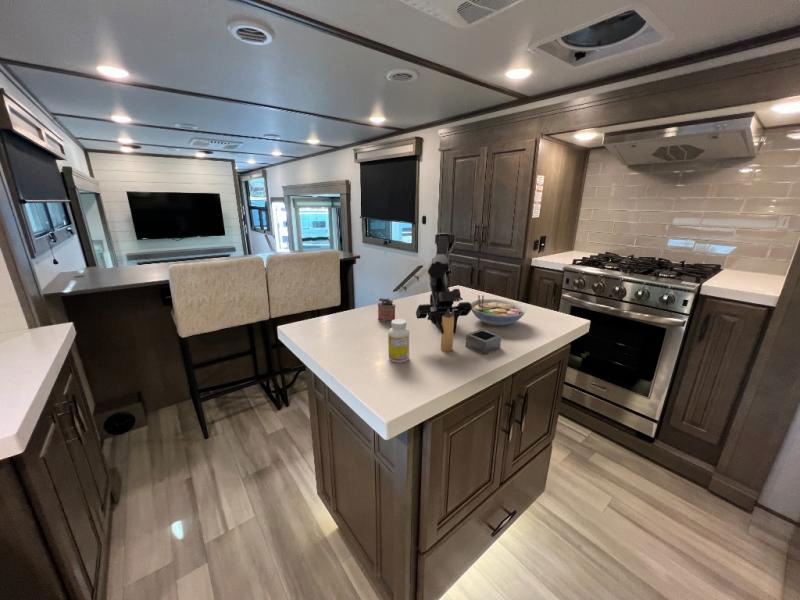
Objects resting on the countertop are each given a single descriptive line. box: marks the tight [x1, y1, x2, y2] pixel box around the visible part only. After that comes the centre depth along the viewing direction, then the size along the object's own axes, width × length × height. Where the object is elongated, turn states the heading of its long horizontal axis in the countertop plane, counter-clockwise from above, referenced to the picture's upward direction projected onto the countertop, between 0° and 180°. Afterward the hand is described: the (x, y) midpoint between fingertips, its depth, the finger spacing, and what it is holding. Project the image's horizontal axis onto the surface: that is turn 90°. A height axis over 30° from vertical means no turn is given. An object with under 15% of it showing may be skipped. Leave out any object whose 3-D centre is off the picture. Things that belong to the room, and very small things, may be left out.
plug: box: [440, 309, 454, 353], centre depth 105 cm, size 4×4×15 cm
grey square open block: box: [465, 328, 502, 356], centre depth 109 cm, size 8×8×4 cm
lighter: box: [377, 297, 396, 324], centre depth 132 cm, size 8×3×10 cm, turn 65°
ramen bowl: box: [469, 295, 527, 327], centre depth 131 cm, size 25×23×8 cm
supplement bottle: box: [387, 318, 410, 364], centre depth 99 cm, size 7×7×13 cm
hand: (448, 333), depth 104 cm, fingers closed on plug, 4 cm apart
